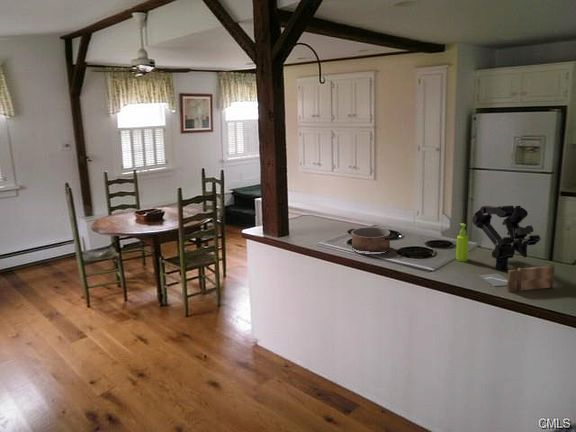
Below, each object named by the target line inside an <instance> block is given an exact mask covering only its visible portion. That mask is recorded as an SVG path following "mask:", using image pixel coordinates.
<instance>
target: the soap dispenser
mask: <svg viewBox="0 0 576 432" xmlns="http://www.w3.org/2000/svg"><path fill="white" fill-rule="evenodd" d="M458 225H460V226H461V228H460V229H459V235H456V246H455V247H456V249H455V251H456V253H455V260H456V259H457V260H456V261H457V262H467V261H468V254H469V238H470V237H469V236H468V235H467V230H466V227H467V224H466V223H462V222H461V223H458Z"/></svg>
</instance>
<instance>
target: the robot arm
mask: <svg viewBox="0 0 576 432" xmlns="http://www.w3.org/2000/svg"><path fill="white" fill-rule="evenodd" d="M492 215H496V217H498V218H503V221H502V223H501V224H502V226H505V228H506V230H507V233H506V235H507V236H506V237H505V236H504V237H502V236H501V235H500V234H499V233H498V231H497V230H496V229H495V228H494V227H493V225H492V224H491V219H492V218H493V216H492ZM528 215H529V213H528V211H527V210H526V209H525V208H523V207H522V206H521V205H515V206H514V205H513V204H512V205H500V206H492V205H482V206H481V207H480V209H479V210H478V211H476V212H475V213H474V215H473V216H472V220H471V221H472V224H473V226H475V227H476V228H478V229H480V230H482V231H483V232H484V233H485V235H486V236H487V237H488V239H489V240H490V241H491V243H493V245H494V249H493V251H491V256H492V258H494V259H495V266H493V267H492V269H493V270H497V271H501V272H508V270H511V267H510V266H509V259H513V258H514V255H515V252H517V253H519V255H520V256H522V257H523V258H527V257H528V246H535V245H537V243H539V242H540V241H541V239H542V238H541V236H540V235H539V234H532V233H533V232H534V228H533V227H534V226H532V225H527V226H526V227H523V226H520V224H521V223H522V222H523V221H524V220H525V219H526V217H528ZM504 218H505V219H504ZM528 235H529V236H528Z"/></svg>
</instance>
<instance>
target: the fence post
mask: <svg viewBox="0 0 576 432" xmlns="http://www.w3.org/2000/svg"><path fill="white" fill-rule="evenodd" d="M522 268H523V267H517V269H509V270H507V272H508V273H507V280H508V283H507V286H506V291H507V292H508V293H510V292H511V293H513V292H522V290H521V284H522V273H523V269H522Z"/></svg>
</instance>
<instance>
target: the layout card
mask: <svg viewBox="0 0 576 432" xmlns="http://www.w3.org/2000/svg"><path fill="white" fill-rule="evenodd" d="M478 277H479V278H481V279H482V280H484V281H485V282H486V283H488V284H489V285H491V286H492V287H494V288H496V287H507V283H508V278H505V277H504V276H502V275H501V274H499V273H490V274H489V273H488V274H478Z"/></svg>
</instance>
